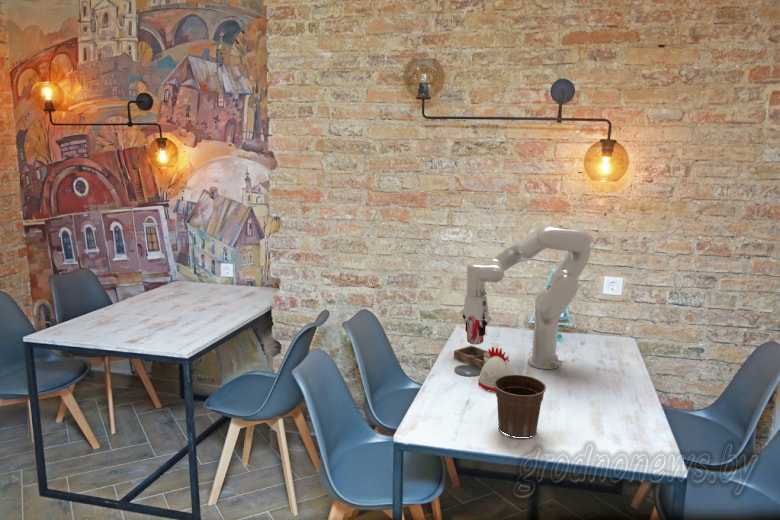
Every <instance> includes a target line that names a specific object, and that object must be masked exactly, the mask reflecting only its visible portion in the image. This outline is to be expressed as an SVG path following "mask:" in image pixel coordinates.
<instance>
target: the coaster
mask: <svg viewBox="0 0 780 520" xmlns="http://www.w3.org/2000/svg"><path fill="white" fill-rule="evenodd" d="M453 370H454V371H453V372H454V373H455V374H456V375H459V376H463V377H467V376H468V378H469V377H470V378H471V376H473V377H479V376H480V373H481V369H480V368H478V367H476V366H472V365H468V364H461V365H458V366H455V367H454V369H453Z"/></svg>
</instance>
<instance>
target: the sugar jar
mask: <svg viewBox="0 0 780 520" xmlns="http://www.w3.org/2000/svg"><path fill="white" fill-rule="evenodd" d="M490 358H491V357H490V354H489V351H488V352H484V361H485V362H486V361H487V360H488V359H490Z"/></svg>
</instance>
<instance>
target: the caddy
mask: <svg viewBox="0 0 780 520" xmlns="http://www.w3.org/2000/svg"><path fill="white" fill-rule="evenodd" d="M484 352H489V351H488V350H486V349H483V348H479V347H477V346H475V345H473V344H471V345H468V346H464V347H461V348H458V349H454V350H453V359H454V360H456V361H459V362H461V363H464V364H465V365H472V366H476V367H478V368H480V369H481V370H482V368H483V366H484V363H486V362H485V361H484ZM472 355H473V356H472ZM507 361H508V362H509V363H510V359H509V358H508V359H507Z"/></svg>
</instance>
